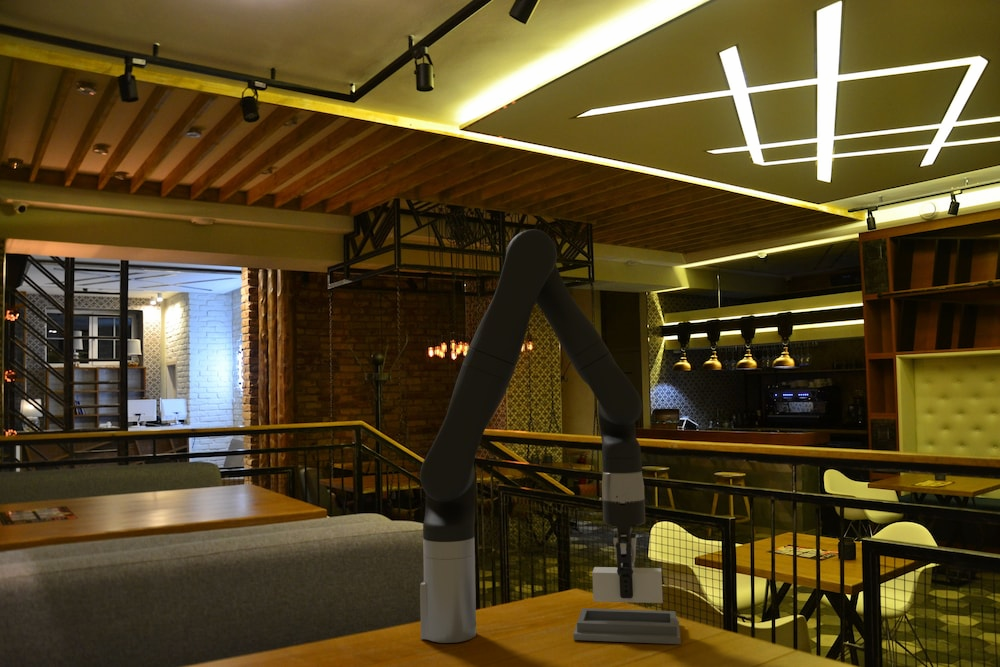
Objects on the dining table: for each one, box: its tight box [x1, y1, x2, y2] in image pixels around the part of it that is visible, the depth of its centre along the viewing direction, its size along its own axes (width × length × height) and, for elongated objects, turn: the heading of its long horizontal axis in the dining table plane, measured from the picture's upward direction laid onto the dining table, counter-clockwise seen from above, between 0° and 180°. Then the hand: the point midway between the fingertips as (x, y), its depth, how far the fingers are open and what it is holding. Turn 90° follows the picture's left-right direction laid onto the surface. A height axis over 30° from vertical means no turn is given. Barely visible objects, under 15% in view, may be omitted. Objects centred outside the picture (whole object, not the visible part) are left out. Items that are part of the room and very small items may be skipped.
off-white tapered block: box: [591, 566, 664, 604], centre depth 138 cm, size 4×12×5 cm, turn 79°
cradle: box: [573, 607, 682, 645], centre depth 137 cm, size 12×18×2 cm, turn 79°
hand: (627, 593), depth 138 cm, fingers closed on off-white tapered block, 4 cm apart
